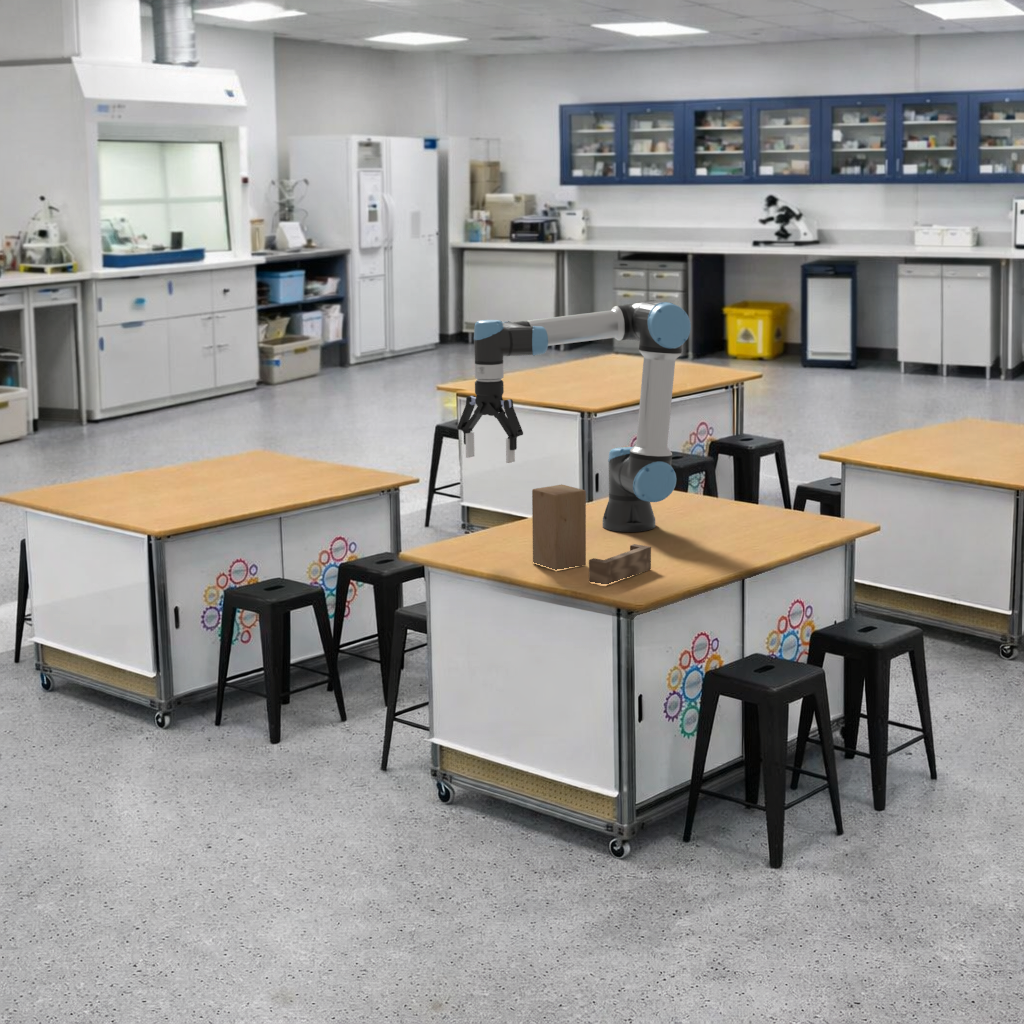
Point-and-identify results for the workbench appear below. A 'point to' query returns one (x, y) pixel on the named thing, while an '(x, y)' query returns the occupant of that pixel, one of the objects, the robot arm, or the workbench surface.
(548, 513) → the wooden block
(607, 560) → the stop rail
